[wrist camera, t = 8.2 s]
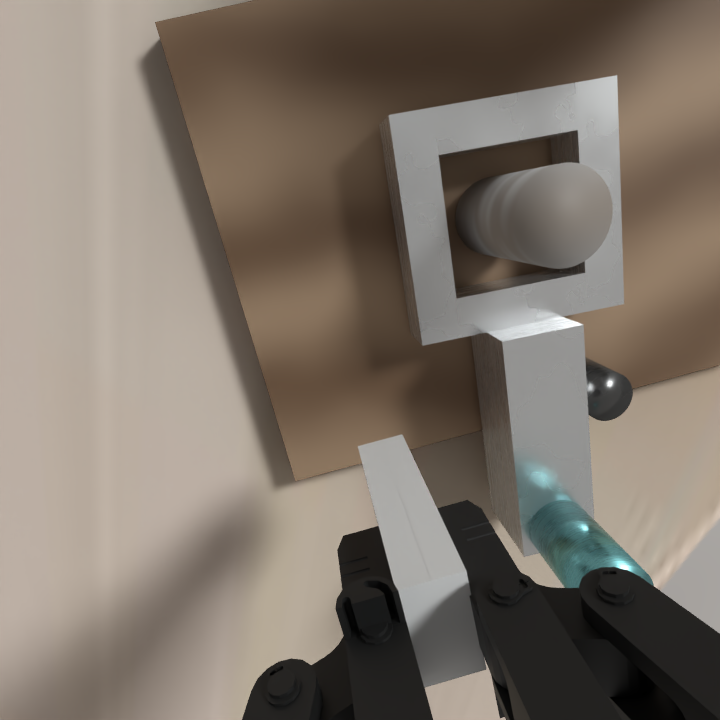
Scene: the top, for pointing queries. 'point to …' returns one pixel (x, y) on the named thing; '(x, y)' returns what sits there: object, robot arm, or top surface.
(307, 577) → the top surface
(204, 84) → the board
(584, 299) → the square loop handle
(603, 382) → the dowel
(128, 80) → the top surface
